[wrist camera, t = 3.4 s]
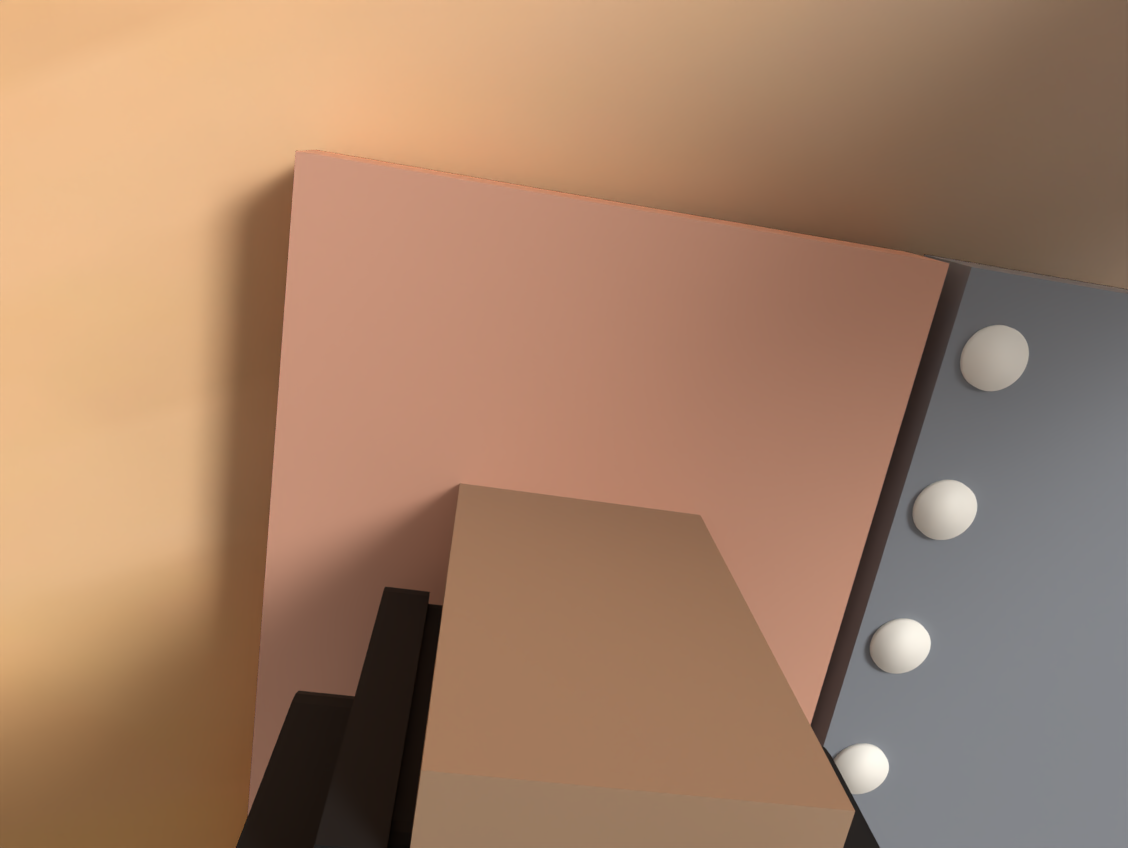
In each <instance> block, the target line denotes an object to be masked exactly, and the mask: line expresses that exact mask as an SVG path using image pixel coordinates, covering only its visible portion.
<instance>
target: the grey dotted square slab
mask: <svg viewBox="0 0 1128 848" xmlns="http://www.w3.org/2000/svg"><path fill="white" fill-rule="evenodd" d="M924 257H928V258H931V259H935V260H939V261H942V262H946V263H950V264H949V267H948V270H947V274H946V277H945V280H944V284H943V287H942V290H941V294H940V297H939V300H938V304H937V307H936V310H935V314H934V317H933V320H932V323H931V327H930V330H929V333H928V337H927V340H926V343H925V347H924V350H923V353H922V357H921V360H920V363H919V367H918V370H917V373H916V377H915V380H914V383H913V387H912V390H911V393H910V396H909V400H908V403H907V406H906V410H905V413H904V416H903V420H902V423H901V426H900V430H899V433H898V436H897V440H896V443H895V446H894V450H893V453H892V456H891V459H890V463H889V466H888V469H887V473H886V476H885V479H884V483H883V486H882V489H881V493H880V496H879V499H878V503H877V506H876V509H875V513H874V516H873V519H872V523H871V526H870V529H869V532H868V536H867V539H866V542H865V546H864V549H863V552H862V556H861V559H860V562H859V566H858V569H857V572H856V576H855V579H854V582H853V586H852V589H851V592H850V595H849V599H848V602H847V605H846V609H845V612H844V615H843V619H842V622H841V625H840V629H839V632H838V635H837V639H836V642H835V645H834V649H833V652H832V655H831V659H830V662H829V665H828V668H827V672H826V675H825V678H824V682H823V685H822V688H821V692H820V695H819V698H818V702H817V705H816V708H815V712H814V715H813V718H812V722H811V725H810V726H811V728H812V729H813V731H814V733H815V735H816V737H817V739H818V741H819V743H820V745H821V746H823V747H825V748H826V749H827V751H828V752H829V754H830V755H831V756H832V758H833V760H834V762H835V764H836V765H837V767H838V769H839V771H840V773H841V775H842V777H843V779H844V781H845V782H846V784H847V786H848V788H849V790H850V792H851V794H852V796H853V798H854V799H855V801H856V803H857V805H858V807H859V809H860V811H861V813H862V814H863V816H864V818H865V820H866V822H867V824H868V826H869V828H870V830H871V831H872V833H873V835H874V837H875V839H876V841H877V843H878V845H879V847H880V848H1128V290H1127V289H1122V288H1116V287H1110V286H1104V285H1098V284H1093V283H1087V282H1081V281H1075V280H1070V279H1064V278H1058V277H1052V276H1046V275H1041V274H1035V273H1029V272H1023V271H1017V270H1012V269H1006V268H1000V267H994V266H989V265H983V264H977V263H971V262H965V261H960V260H954V259H948V258H942V257H936V256H931V255H925V254H924Z"/></svg>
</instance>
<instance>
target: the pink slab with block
mask: <svg viewBox="0 0 1128 848" xmlns="http://www.w3.org/2000/svg"><path fill="white" fill-rule="evenodd" d="M949 264H950V263H946V262H942V261H939V260H935V259H931V258H928V257H924V256H920V255H917V254H913V253H909V252H905V251H899V250H893V249H887V248H881V247H876V246H870V245H864V244H858V243H852V242H847V241H841V240H835V239H829V238H824V237H818V236H812V235H806V234H800V233H795V232H789V231H783V230H777V229H771V228H766V227H760V226H754V225H748V224H742V223H737V222H731V221H725V220H719V219H714V218H708V217H702V216H696V215H690V214H685V213H679V212H673V211H667V210H661V209H656V208H650V207H644V206H638V205H632V204H627V203H621V202H615V201H609V200H604V199H598V198H592V197H586V196H580V195H575V194H569V193H563V192H557V191H551V190H546V189H540V188H534V187H528V186H522V185H517V184H511V183H505V182H499V181H493V180H488V179H482V178H476V177H470V176H465V175H459V174H453V173H447V172H441V171H436V170H430V169H424V168H418V167H412V166H407V165H401V164H395V163H389V162H383V161H378V160H372V159H366V158H360V157H355V156H349V155H343V154H337V153H331V152H326V151H320V150H306V151H296V155H295V168H294V182H293V196H292V210H291V224H290V237H289V251H288V265H287V279H286V293H285V306H284V320H283V334H282V348H281V362H280V375H279V389H278V403H277V417H276V431H275V444H274V458H273V472H272V486H271V500H270V513H269V527H268V541H267V555H266V569H265V582H264V596H263V610H262V624H261V638H260V651H259V665H258V679H257V693H256V707H255V720H254V734H253V748H252V762H251V776H250V789H249V803H248V815H249V812H250V810H251V807H252V804H253V802H254V799H255V796H256V794H257V791H258V789H259V786H260V783H261V781H262V778H263V776H264V773H265V770H266V768H267V765H268V762H269V760H270V757H271V755H272V752H273V749H274V747H275V744H276V742H277V739H278V736H279V734H280V731H281V728H282V726H283V723H284V721H285V718H286V715H287V713H288V710H289V708H290V705H291V702H292V700H293V698H294V696H295V694H296V693H297V692H298V691H308V692H318V693H328V694H338V695H347V696H355V693H356V690H357V686H358V682H359V679H360V675H361V671H362V668H363V664H364V660H365V657H366V653H367V649H368V646H369V642H370V638H371V635H372V631H373V627H374V624H375V620H376V616H377V613H378V609H379V605H380V602H381V598H382V594H383V591H384V588H385V587H394V588H402V589H411V590H419V591H428V592H430V596H429V604H435V605H443V607H442V615H441V622H440V630H439V637H438V644H437V652H436V659H435V666H434V674H433V681H432V689H431V696H430V703H429V711H428V718H427V725H426V733H425V740H424V747H423V755H422V762H421V770H420V777H419V784H418V792H417V799H416V806H415V814H414V821H413V828H412V836H411V843H410V848H843V846H844V843H845V840H846V837H847V834H848V831H849V828H850V825H851V822H852V819H853V816H854V813H855V810H854V808H853V806H852V804H851V802H850V800H849V798H848V796H847V794H846V793H845V791H844V789H843V787H842V785H841V783H840V781H839V779H838V777H837V775H836V773H835V771H834V770H833V768H832V766H831V764H830V762H829V760H828V758H827V756H826V754H825V752H824V750H823V749H822V747H821V745H820V743H819V741H818V739H817V737H816V735H815V733H814V731H813V729H812V728H811V726H810V725H811V722H812V718H813V715H814V712H815V708H816V705H817V702H818V698H819V695H820V692H821V688H822V685H823V682H824V678H825V675H826V672H827V668H828V665H829V662H830V659H831V655H832V652H833V649H834V645H835V642H836V639H837V635H838V632H839V629H840V625H841V622H842V619H843V615H844V612H845V609H846V605H847V602H848V599H849V595H850V592H851V589H852V586H853V582H854V579H855V576H856V572H857V569H858V566H859V562H860V559H861V556H862V552H863V549H864V546H865V542H866V539H867V536H868V532H869V529H870V526H871V523H872V519H873V516H874V513H875V509H876V506H877V503H878V499H879V496H880V493H881V489H882V486H883V483H884V479H885V476H886V473H887V469H888V466H889V463H890V459H891V456H892V453H893V450H894V446H895V443H896V440H897V436H898V433H899V430H900V426H901V423H902V420H903V416H904V413H905V410H906V406H907V403H908V400H909V396H910V393H911V390H912V387H913V383H914V380H915V377H916V373H917V370H918V367H919V363H920V360H921V357H922V353H923V350H924V347H925V343H926V340H927V337H928V333H929V330H930V327H931V323H932V320H933V317H934V314H935V310H936V307H937V304H938V300H939V297H940V294H941V290H942V287H943V284H944V280H945V277H946V274H947V270H948V267H949Z"/></svg>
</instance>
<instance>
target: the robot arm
mask: <svg viewBox="0 0 1128 848" xmlns="http://www.w3.org/2000/svg"><path fill="white" fill-rule="evenodd" d="M429 596H430V592H428V591H419V590H411V589H402V588H394V587H385V588H384V591H383V594H382V598H381V602H380V605H379V609H378V613H377V616H376V620H375V624H374V627H373V631H372V635H371V638H370V642H369V646H368V649H367V653H366V657H365V660H364V664H363V668H362V671H361V675H360V679H359V682H358V686H357V690H356V693H355V696H347V695H338V694H328V693H318V692H308V691H298V692H297V693H296V694H295V696H294V698H293V700H292V702H291V705H290V708H289V710H288V713H287V715H286V718H285V721H284V723H283V726H282V728H281V731H280V734H279V736H278V739H277V742H276V744H275V747H274V749H273V752H272V755H271V757H270V760H269V762H268V765H267V768H266V770H265V773H264V776H263V778H262V781H261V783H260V786H259V789H258V791H257V794H256V796H255V799H254V802H253V804H252V807H251V810H250V812H249V815H248V817H247V820H246V823H245V825H244V828H243V831H242V833H241V836H240V838H239V841H238V844H237V846H236V848H410V843H411V836H412V828H413V821H414V814H415V806H416V799H417V792H418V784H419V777H420V770H421V762H422V755H423V747H424V740H425V733H426V725H427V718H428V711H429V703H430V696H431V689H432V681H433V674H434V666H435V659H436V652H437V644H438V637H439V630H440V622H441V615H442V607H443V605H435V604H429ZM821 747H822V749H823V750H824V752H825V754H826V756H827V758H828V760H829V762H830V764H831V766H832V768H833V770H834V771H835V773H836V775H837V777H838V779H839V781H840V783H841V785H842V787H843V789H844V791H845V793H846V794H847V796H848V798H849V800H850V802H851V804H852V806H853V808H854V810H855V813H854V816H853V819H852V822H851V825H850V828H849V831H848V834H847V837H846V840H845V843H844V846H843V848H880V847H879V845H878V843H877V841H876V839H875V837H874V835H873V833H872V831H871V830H870V828H869V826H868V824H867V822H866V820H865V818H864V816H863V814H862V813H861V811H860V809H859V807H858V805H857V803H856V801H855V799H854V798H853V796H852V794H851V792H850V790H849V788H848V786H847V784H846V782H845V781H844V779H843V777H842V775H841V773H840V771H839V769H838V767H837V765H836V764H835V762H834V760H833V758H832V756H831V755H830V754H829V752H828V751H827V749H826V748H825V747H823V746H821Z"/></svg>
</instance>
